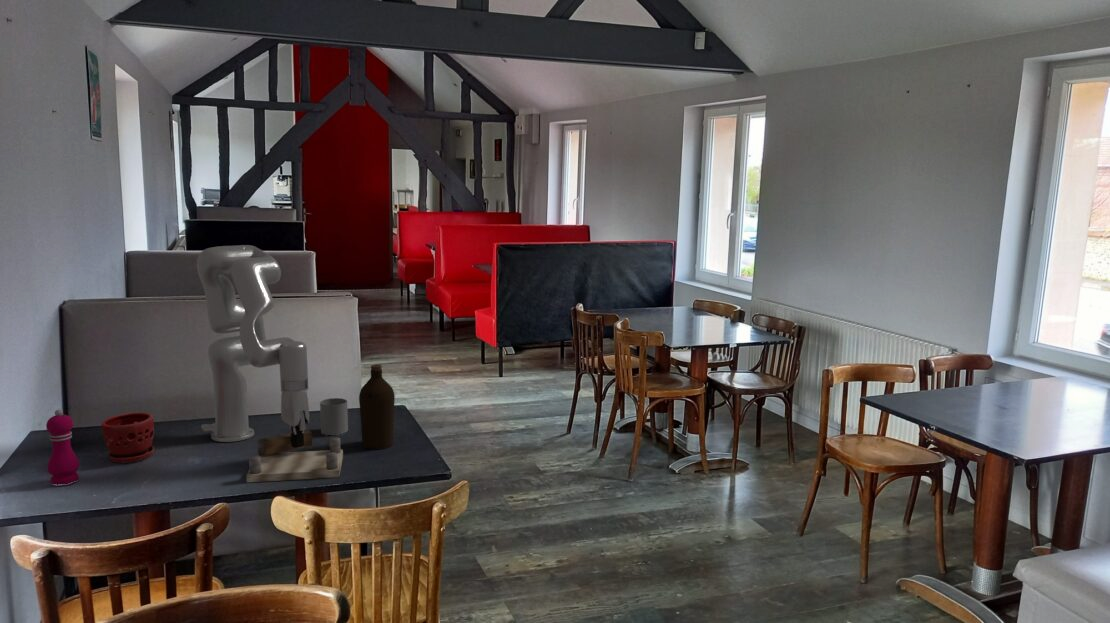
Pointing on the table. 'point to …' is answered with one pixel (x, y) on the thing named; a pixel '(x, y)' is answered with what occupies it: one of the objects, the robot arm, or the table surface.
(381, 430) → the olive oil
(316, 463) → the stool seat
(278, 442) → the folding leg
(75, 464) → the pepper mill
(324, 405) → the cup
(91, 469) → the table surface
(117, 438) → the plant pot
